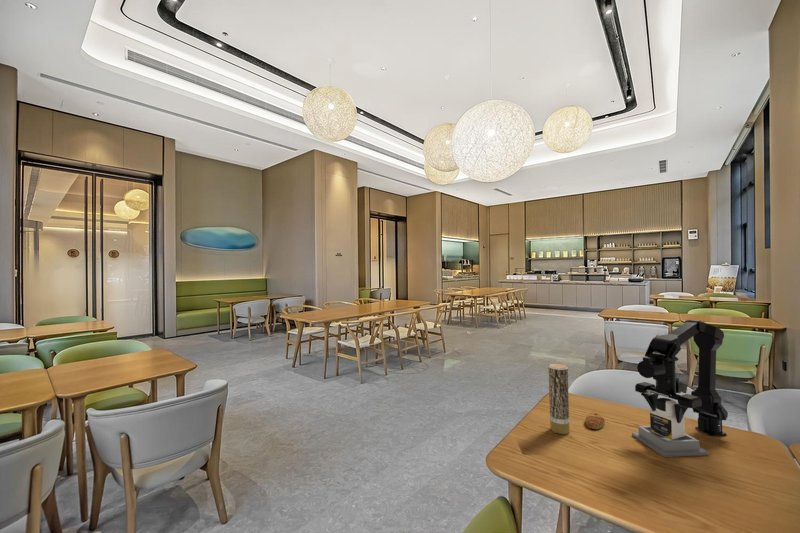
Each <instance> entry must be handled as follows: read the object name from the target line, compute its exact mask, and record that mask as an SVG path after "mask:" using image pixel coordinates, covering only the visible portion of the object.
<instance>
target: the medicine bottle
mask: <svg viewBox="0 0 800 533" xmlns="http://www.w3.org/2000/svg"><path fill="white" fill-rule="evenodd" d="M674 404H678V402H677V401H676V400H675V399H672V398H668V397H658V398H657V399H656V411H652V410H650V412H649V422H650V423H649V424H650V425H649V426H650V427H651V432H653V433H656V434H658V435H661V436H663V437H666V438H668V439H670V440H673V439H677V438H680V437H684V436H685V433H686V432H685V431H686V430H685V415H684V416H683V418H682V420H681V423H677V420H676V413H675V407H674Z"/></svg>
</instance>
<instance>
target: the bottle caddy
mask: <svg viewBox="0 0 800 533" xmlns="http://www.w3.org/2000/svg"><path fill="white" fill-rule="evenodd" d="M631 436H632V437H633V438H635V439H637V440H638V441H640V442H642V443H643V444H644V445H645V446H648V448H650V449H652V450H653V451H655V452H656V453H657V454H659V455H660V456H662V457H665V458H668V457H669V458H670V457H671V458H672V457H691V456H692V457H697V456H709V452H708V451H707V450H705V449H704V448H702V447H701V446H700V444H701V443H700V440H698V439H697V438H695V437H693V436H691V435H689V434H687V433H686V432H685V436H684V437H680V438H677V439H673V440H670V439H668V438H666V437H663V436H661V435H658V434H656V433H653V432H651V427H650V425H642V426H641V425H638V432H631Z"/></svg>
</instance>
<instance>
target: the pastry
mask: <svg viewBox="0 0 800 533" xmlns="http://www.w3.org/2000/svg"><path fill="white" fill-rule="evenodd" d="M584 421H585V424H586V427H587V428H588V429H593V430H599V429H602V428H603V427H604V425H605V422H606V421H605V419H604V417H603V416H602V415H601V414H600V413H597V412H593V413H591V412H590V413H589V414H588V415H587V416H586V417H585V419H584Z"/></svg>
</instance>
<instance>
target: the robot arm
mask: <svg viewBox="0 0 800 533" xmlns="http://www.w3.org/2000/svg"><path fill="white" fill-rule="evenodd" d="M724 337H725V332H724V331H723V330H722V329H721V328H720V327H718V326H714V325H712V324H708V323H707V322H705V321H702V320H698V319H697V320H696V319H686V320H685V321H684V323H682V324H681V325H680V326H678V327H677V328H675V329H674V330H672V331H671V332H670V333H667V334H662V335H661V334H660V335H658V336H654V337H653V338H652V339H651V340H650V342H649V344H648V347H647V349H646V351H645V354H644V357H642V361H639V363H638V364H637V366H636V368H637V371H638V373H639V375H641V377H643V378H646V379H650V378H652V379H653V380H654V381H655V384H654V383H650V382H646V381H642V382H638V383H636V384H635V386H634V391H635V392H636V393H640V395H641V396H642V397H643V398H644V399H645V401H646V402H647V404H648V406H649V407H650V409H651V411H656V399H657V398H659V395H660V396H663V397H664V398H668V399H671V400H674V401H677V404H674V407H675V413H676V420H677V423H681V420H682V418H683V416H684V417H685V414H686V412H687V411H688V409H692V412H693V413H697V415H698V417H697V426H694V429H696V430H698V431H700V432H702V433H704V434H706V435H708V436H710V437H714V436H716V437H717V436H728V435H727V433H726V432H724V431H723V421H727V419H728V416H729V412H728V411H727V410H726V408H725V407H724V405H722V398H721V396H720V394H719V393H718V391H717V390H716V381H717V380H716V378H717V377H716V375H717V350H718V349H719V348H720V347H721V346H722V345H723V342H724V341H723V340H724V339H725V338H724ZM692 338H693V342H694V344H695V346H697V348H698V372H697V373H698V374H697V376H698V377H697V387H696V388H695V389H694V390H692V391H691V392H690V394H689V393H687V391H688V384H686V383H683V382H681V381H680V378H679V377H677V376H676V375H677V374H676V371H677V370H676V362H678V361H679V358H678V357H677V355H678V354H679V353H680V352H681V350H682V348H681V346H682V345H683V344H685V343H686V342H687V341H689V340H690V339H692ZM681 393H683V394H681ZM680 394H681V395H680ZM718 425H720V426H718Z"/></svg>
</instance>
